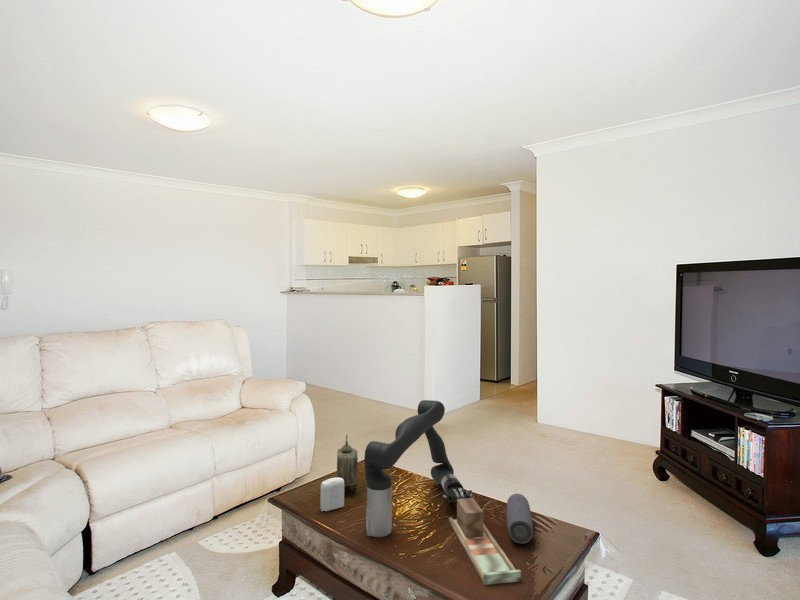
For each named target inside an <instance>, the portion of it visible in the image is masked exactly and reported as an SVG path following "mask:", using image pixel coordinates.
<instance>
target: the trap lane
mask: <svg viewBox="0 0 800 600" xmlns="http://www.w3.org/2000/svg"><path fill="white" fill-rule="evenodd" d="M448 521H449V523H450V525H451V527H452V529H453V530H454V533H455V534H456V535H457V538H458V539H459V541H460V543H461V544H462V547H463V549H464V550H465V552H466V554H467V556H468V558H469V559H470V562H471V564H472V566H473V567H474V569H475V571H476V573H477V574H478V576H479V578H480V580H481V582H482V583H483V585H484V586H487V585H488V586H489V585H496V584H497V585H498V584H505V583H513V582H514V583H515V582H522V570H521V569H516V567H514V565H513V563H512V562H511V560H510V559H509V558H508V556H507V555H506V553H505V551H504V550H503V549H502V548H501V546H500V545H499V543H498V541H496V539H495V538H494V536H493V535H492V533H491V532H490V530H489V529H488V528H487V526H486V525H485V523H484V522H483V537H472V538H466V537H465V535H464V533H463V532H462V530H461V528H460V527H459V525H458V523H457V519H453V516H450V517H448Z"/></svg>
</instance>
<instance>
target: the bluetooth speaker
mask: <svg viewBox="0 0 800 600" xmlns="http://www.w3.org/2000/svg"><path fill="white" fill-rule="evenodd" d="M505 515H506V524H507V530H508V534H509V537H510V538H511V540H512V541H513V542H515V543H517V544H527V543H529V542H530V541H531V540H532V539H533V535H534V524H533V516H532V511H531V507H530V504H529V501H528V498H526V496H525V495H523V494H520V493H514V494H512V495H510V496H509V497H508V499H507V502H506V513H505Z"/></svg>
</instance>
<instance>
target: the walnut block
mask: <svg viewBox="0 0 800 600" xmlns="http://www.w3.org/2000/svg"><path fill="white" fill-rule="evenodd" d="M456 520H457V523H458V525H459V527H460V528H461V530H462V532H463V533H464V535H465V537H466V538H472V537H483V523H484V511H483V510H482V508H481V507H480V505H479V504H478V503H477V501H476V500H475V499H474V498H473V497H471V498H465V499H457V502H456Z"/></svg>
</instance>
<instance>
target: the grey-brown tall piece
mask: <svg viewBox="0 0 800 600" xmlns="http://www.w3.org/2000/svg"><path fill="white" fill-rule="evenodd" d="M348 443H349V442H348V434H346V435H345V444H344V445H342V446H341V448H337V451H336V453H337V454H336V477H338V478H342V479H343V480H344V488H345V487H347V486H350V487H349V490H354V486H355V485H356V484H358V481H359V480H358V476H359V475H358V470H359V469H358V468H359V467H358V466H359V464H358V460H359V459H358V458H359V457H358V455H359V454H358V449H356V448H353V447H352V446H351V445H350V444H348Z"/></svg>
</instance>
